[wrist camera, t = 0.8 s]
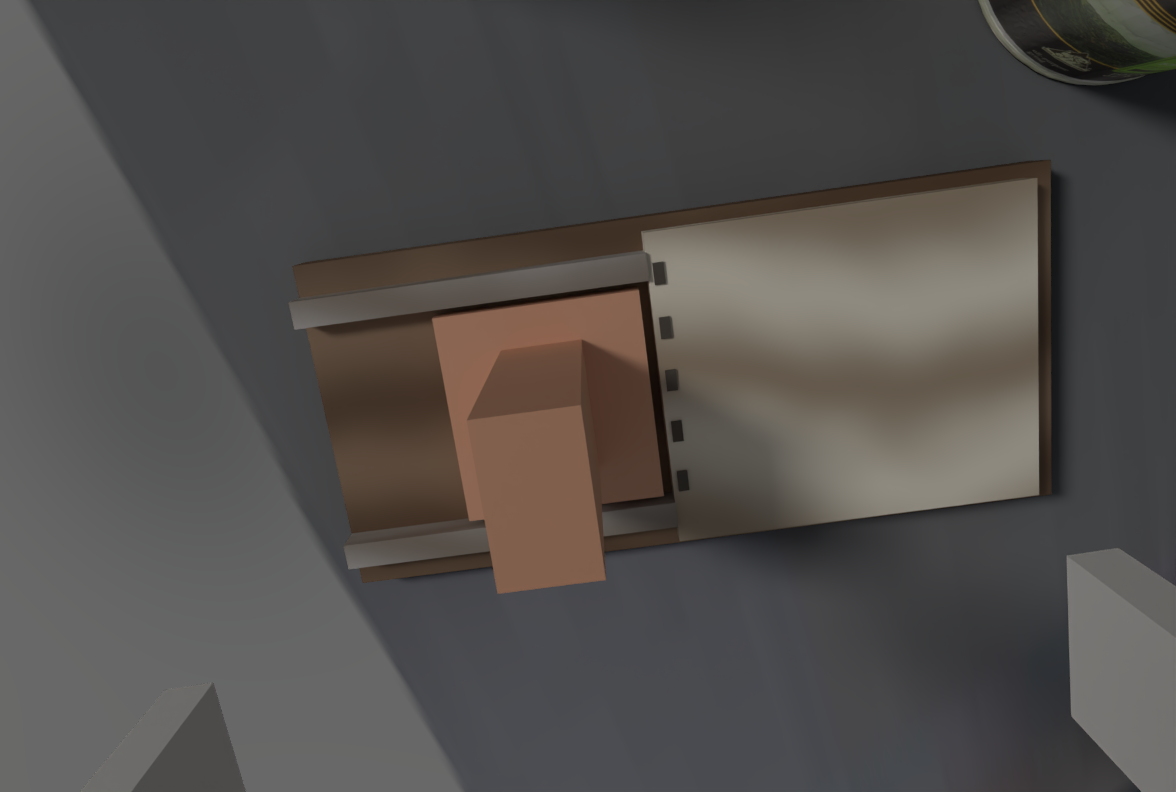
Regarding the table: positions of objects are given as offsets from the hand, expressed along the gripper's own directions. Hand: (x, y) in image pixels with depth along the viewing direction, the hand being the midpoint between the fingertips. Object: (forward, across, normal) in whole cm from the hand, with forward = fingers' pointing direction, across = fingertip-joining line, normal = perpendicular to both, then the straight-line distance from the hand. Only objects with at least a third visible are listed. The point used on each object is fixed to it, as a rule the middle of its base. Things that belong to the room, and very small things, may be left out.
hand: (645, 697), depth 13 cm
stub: (+20, -2, 0) cm, 20 cm away
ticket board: (+22, +3, 0) cm, 22 cm away
